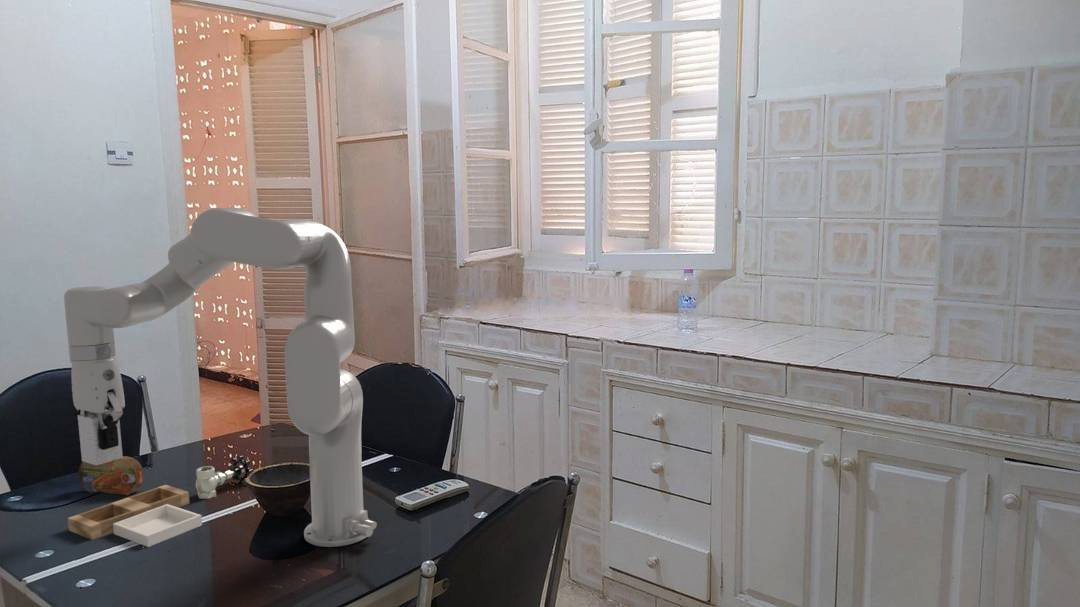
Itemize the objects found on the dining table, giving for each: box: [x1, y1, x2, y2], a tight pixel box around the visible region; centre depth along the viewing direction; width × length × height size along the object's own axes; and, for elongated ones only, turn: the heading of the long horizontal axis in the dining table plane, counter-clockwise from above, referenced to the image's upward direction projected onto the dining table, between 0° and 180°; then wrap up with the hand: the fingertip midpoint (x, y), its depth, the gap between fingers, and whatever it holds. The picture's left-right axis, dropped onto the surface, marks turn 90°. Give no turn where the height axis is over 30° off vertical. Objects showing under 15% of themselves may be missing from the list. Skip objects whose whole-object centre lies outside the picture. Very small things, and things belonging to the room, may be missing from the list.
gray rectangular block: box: [77, 408, 123, 465], centre depth 145 cm, size 5×5×9 cm
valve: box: [195, 454, 254, 500], centre depth 165 cm, size 7×7×12 cm
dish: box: [113, 504, 203, 548], centre depth 145 cm, size 11×11×2 cm
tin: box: [78, 455, 145, 496], centre depth 165 cm, size 15×3×8 cm, turn 76°
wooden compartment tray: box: [67, 484, 190, 540], centre depth 151 cm, size 8×20×3 cm, turn 149°
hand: (101, 444), depth 145 cm, fingers closed on gray rectangular block, 5 cm apart
